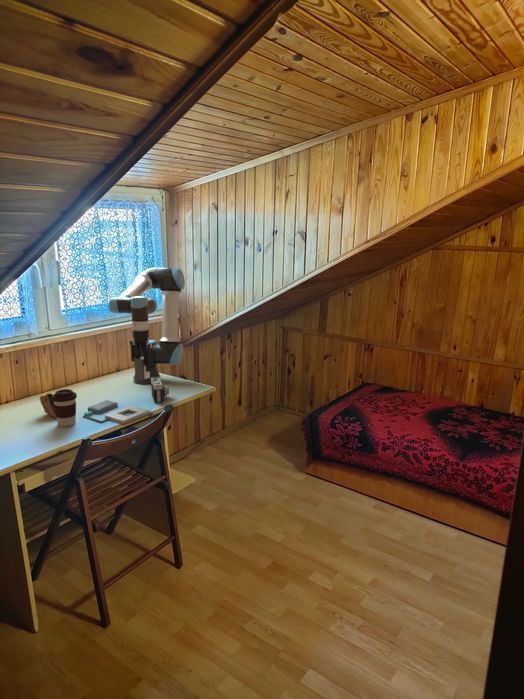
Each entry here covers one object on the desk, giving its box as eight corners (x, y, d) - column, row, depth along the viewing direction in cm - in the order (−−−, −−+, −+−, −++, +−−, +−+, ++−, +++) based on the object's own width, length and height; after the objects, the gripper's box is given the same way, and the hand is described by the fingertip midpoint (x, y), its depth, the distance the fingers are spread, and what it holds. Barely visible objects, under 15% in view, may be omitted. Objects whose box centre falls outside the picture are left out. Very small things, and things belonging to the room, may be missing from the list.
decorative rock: (39, 415, 213) (37, 392, 211) (51, 411, 218) (49, 389, 216) (58, 419, 208) (55, 397, 205) (69, 415, 213) (67, 393, 211)
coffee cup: (79, 418, 209) (76, 387, 206) (78, 426, 200) (76, 393, 197) (55, 421, 206) (52, 389, 203) (53, 429, 197) (50, 396, 194)
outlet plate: (132, 408, 223) (132, 405, 223) (150, 413, 217) (149, 410, 217) (105, 418, 210) (104, 415, 210) (123, 424, 204) (122, 420, 204)
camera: (170, 402, 233) (170, 383, 231) (154, 403, 230) (153, 384, 228) (166, 393, 246) (166, 375, 243) (151, 395, 243) (150, 376, 241)
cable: (90, 413, 216) (90, 410, 215) (109, 419, 209) (109, 416, 208) (82, 416, 212) (81, 413, 211) (101, 423, 205) (101, 420, 204)
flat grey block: (107, 404, 229) (106, 399, 228) (117, 407, 226) (117, 402, 225) (87, 412, 218) (87, 407, 218) (98, 415, 215) (98, 409, 215)
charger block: (143, 376, 227) (142, 356, 225) (150, 378, 224) (149, 357, 222) (135, 378, 223) (134, 358, 221) (142, 380, 220) (141, 359, 218)
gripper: (121, 328, 220) (123, 375, 225) (148, 332, 210) (150, 382, 216) (133, 326, 226) (135, 372, 231) (160, 330, 217) (162, 378, 222)
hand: (142, 376), depth 224 cm, fingers closed on charger block, 5 cm apart
